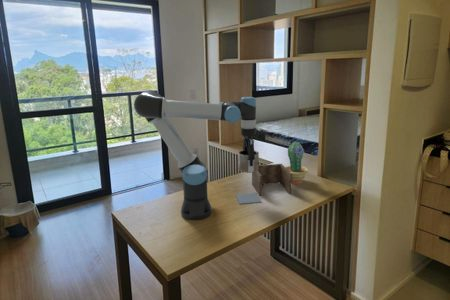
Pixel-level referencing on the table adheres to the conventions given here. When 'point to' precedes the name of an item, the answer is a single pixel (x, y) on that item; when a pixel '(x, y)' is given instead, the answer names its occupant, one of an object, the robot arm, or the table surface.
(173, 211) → the table surface
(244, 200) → the mat
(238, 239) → the table surface
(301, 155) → the potted cactus
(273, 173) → the wooden cubby shelf
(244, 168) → the planter
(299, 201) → the table surface
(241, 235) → the table surface
